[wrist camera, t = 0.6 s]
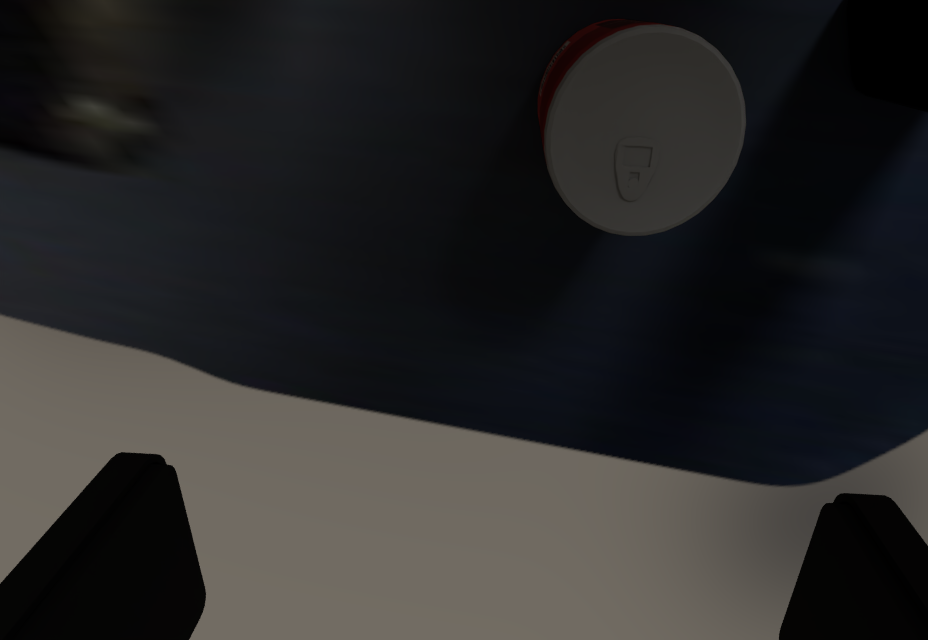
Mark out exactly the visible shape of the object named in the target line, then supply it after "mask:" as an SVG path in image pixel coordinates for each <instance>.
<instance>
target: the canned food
mask: <svg viewBox="0 0 928 640" xmlns="http://www.w3.org/2000/svg"><path fill="white" fill-rule="evenodd" d="M538 119H539V125H540V132H541V138H542V144H543V150H544V155H545V161H546V165H547V169H548V172H549V174H550V177H551V179H552V182H553V184H554V187H555V188H556V190H557V191H558V193H559V194H560V196H561V198H562V199H563V201H564V202H565V203H566V205H567V206H568V207H569V208H570V209H571V210H572V211H573V212H574V213H575V214H576V215H577V216H578V217H580V218H581V219H583V220H584V221H586V222H587V223H589V224H590V225H592V226H593V227H596V228H598V229H601V230H604V231H606V232H609V233H613V234H619V235H625V236H643V235H650V234H654V233H659V232H664V231H666V230H669V229H671V228H673V227H676V226H678V225H681V224H682V223H684V222H686V221H687V220H689V219H690V218H692V217H693V216H695V215H697V214H698V213H699V212H700V211H702V210H703V209H704V208H705V207H706V206H707V205H708V204H709V203H710V202H711V201H713V200H714V198H715V197H716V196H717V194H718V193H719V192H720V191H721V189H722V188H723V187H724V186H725V184H726V183H727V181H728V179H729V177H730V175H731V174H732V172H733V170H734V168H735V166H736V164H737V161H738V158H739V155H740V152H741V149H742V146H743V141H744V134H745V127H746V115H745V102H744V98H743V94H742V90H741V86H740V83H739V81H738V79H737V77H736V75H735V73H734V71H733V69H732V67H731V65H730V64H729V63H728V61H727V60H726V59H725V58H724V57H723V55H722V54H721V53H720V52H719V51H718V50H717V49H716V48H715V47H714V46H712V45H711V44H710V43H708V42H707V41H706V40H704V39H703V38H702V37H700V36H699V35H697V34H694V33H692V32H690V31H687V30H685V29H683V28H680V27H675V26H671V25H665V24H660V23H653V22H645V21H636V20H628V19H611V20H604V21H601V22H597V23H594V24H591V25H589V26H587V27H585V28H583V29H581V30H579V31H578V32H576V33H575V34H574V35H573V36H571V37H570V38H569V39H567V40H566V41H565V42H564V43H563V44H562V46H561V47H560V48H559V49H558V50H557V51H556V53H555V54H554V55H553V57H552V59H551V60H550V62H549V64H548V65H547V67H546V70H545V72H544V75H543V78H542V80H541V83H540V89H539V94H538Z"/></svg>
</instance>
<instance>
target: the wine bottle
mask: <svg viewBox="0 0 928 640" xmlns="http://www.w3.org/2000/svg"><path fill="white" fill-rule="evenodd" d="M847 18H848V31H849V44H850V58H851V71H852V81H853V83H854V86H855V88H856V90H857V91H859V92H861V93H862V94H864V95H866V96H869V97H873V98H877V99H881V100H884V101H888V102H892V103H896V104H899V105H903V106H907V107H911V108H914V109H918V110H922V111H926V112H928V0H848V6H847Z"/></svg>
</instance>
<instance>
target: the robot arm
mask: <svg viewBox="0 0 928 640" xmlns="http://www.w3.org/2000/svg"><path fill="white" fill-rule="evenodd" d="M205 600H206V592H205V586H204V582H203V578H202V574H201V570H200V566H199V562H198V558H197V554H196V550H195V546H194V542H193V538H192V533H191V529H190V525H189V522H188V517H187V514H186V510H185V506H184V501H183V498H182V493H181V490H180V485H179V482H178V477H177V473H176V471H175V468H174V467H173V466H171V465H167V464H166V462H165V459H164V458H163V457H162V456H161V455H157V454H143V453H125V452H121V453H118V454H116V455H115V456H114V457H113V458H111V459H110V460H109V462H108V463H107V464H106V465H105V466H104V467H103V468H102V470H101V471H100V472H99V473H98V474H97V475H96V476H95V478H94V479H93V480H92V481H91V482H90V483H89V484H88V485H87V486H86V488H85V489H84V490H83V491H82V492H81V493H80V494H79V496H78V497H77V498H76V499H75V500H74V501H73V502H72V503H71V505H70V506H69V507H68V508H67V509H66V510H65V511H64V512H63V514H62V515H61V516H60V517H59V518H58V519H57V520H56V522H55V523H54V524H53V525H52V526H51V527H50V528H49V530H48V531H47V532H46V533H45V534H44V535H43V536H42V537H41V539H40V540H39V541H38V542H37V543H36V544H35V545H34V546H33V548H32V549H31V550H30V551H29V552H28V553H27V554H26V555H25V557H24V558H23V559H22V560H21V561H20V562H19V563H18V564H17V566H16V567H15V568H14V569H13V570H12V571H11V572H10V573H9V575H8V576H7V577H6V578H5V579H4V580H3V581H2V582H1V584H0V640H189V639H190V637H191V635H192V633H193V631H194V629H195V627H196V625H197V623H198V621H199V619H200V617H201V615H202V613H203V609H204V606H205ZM779 640H928V546H927V544H926V543H925V542H924V540H923V539H922V538H921V536H920V535H919V534H918V532H917V531H916V530H915V528H914V527H913V526H912V524H911V523H910V522H909V520H908V519H907V518H906V516H905V515H904V514H903V512H902V511H901V510H900V508H899V507H898V506H897V504H896V503H895V502H894V501H893V500H892V499H891V498H889V497H887V496H885V495H866V494H849V493H843V494H839V495H838V496H837V497H836V498H835V500H834V502H833V503H826V504H825V505H824V506H823V507H822V509H821V512H820V515H819V517H818V520H817V523H816V526H815V529H814V532H813V535H812V538H811V541H810V544H809V547H808V550H807V552H806V555H805V558H804V561H803V564H802V567H801V570H800V573H799V576H798V579H797V582H796V585H795V588H794V591H793V593H792V597H791V599H790V602H789V605H788V608H787V611H786V614H785V617H784V620H783V623H782V626H781V629H780V633H779Z"/></svg>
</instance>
